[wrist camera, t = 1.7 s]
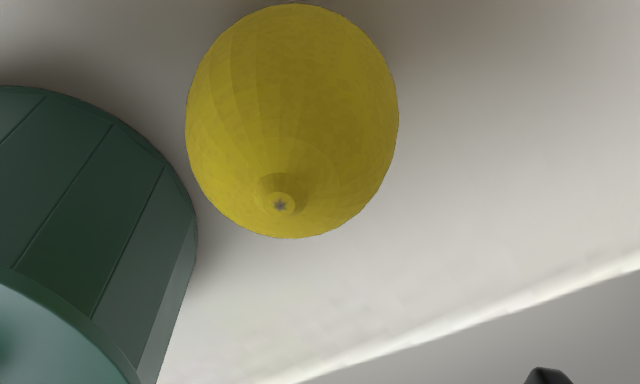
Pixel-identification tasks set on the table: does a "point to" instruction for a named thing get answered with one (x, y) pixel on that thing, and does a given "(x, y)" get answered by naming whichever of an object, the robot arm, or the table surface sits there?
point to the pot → (95, 219)
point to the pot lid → (53, 339)
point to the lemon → (291, 121)
